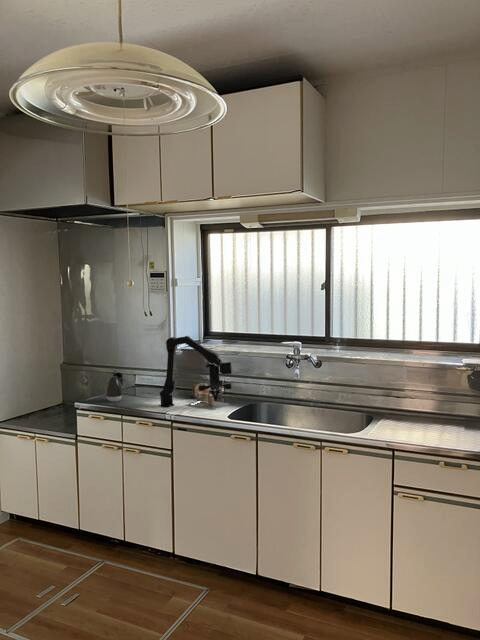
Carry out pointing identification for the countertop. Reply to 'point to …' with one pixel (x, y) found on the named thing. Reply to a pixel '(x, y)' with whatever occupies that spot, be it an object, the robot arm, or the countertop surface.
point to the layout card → (209, 405)
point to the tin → (196, 389)
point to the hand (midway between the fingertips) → (215, 401)
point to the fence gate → (211, 400)
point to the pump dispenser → (114, 389)
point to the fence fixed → (203, 396)
